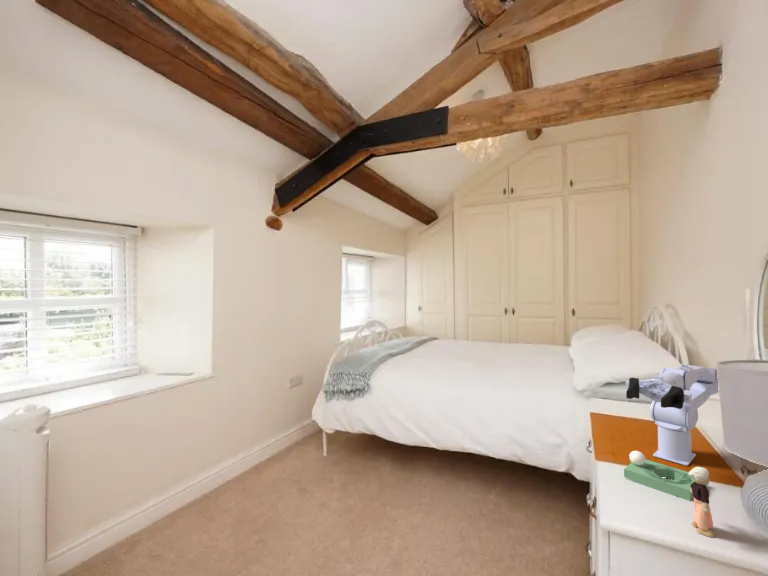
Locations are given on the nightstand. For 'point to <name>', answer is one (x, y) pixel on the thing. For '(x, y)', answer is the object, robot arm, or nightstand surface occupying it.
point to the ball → (637, 458)
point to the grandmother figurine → (701, 501)
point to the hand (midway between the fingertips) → (644, 398)
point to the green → (653, 475)
